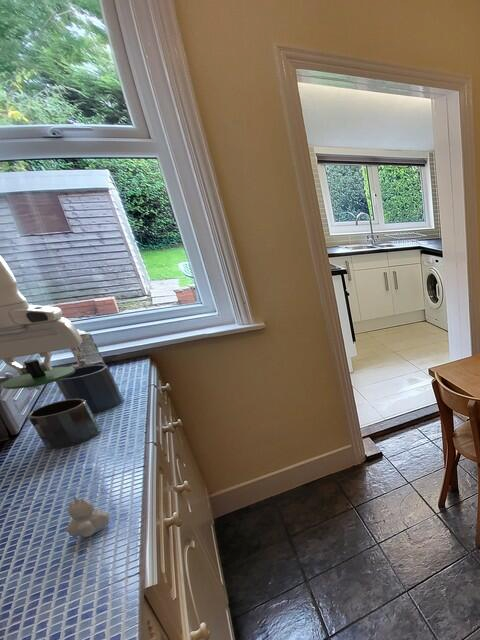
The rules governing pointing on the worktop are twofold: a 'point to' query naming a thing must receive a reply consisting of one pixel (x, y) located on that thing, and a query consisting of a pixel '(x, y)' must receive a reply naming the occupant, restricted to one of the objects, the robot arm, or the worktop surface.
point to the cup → (64, 423)
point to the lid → (37, 376)
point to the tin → (92, 387)
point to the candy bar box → (86, 349)
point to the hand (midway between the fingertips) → (37, 372)
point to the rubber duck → (85, 518)
